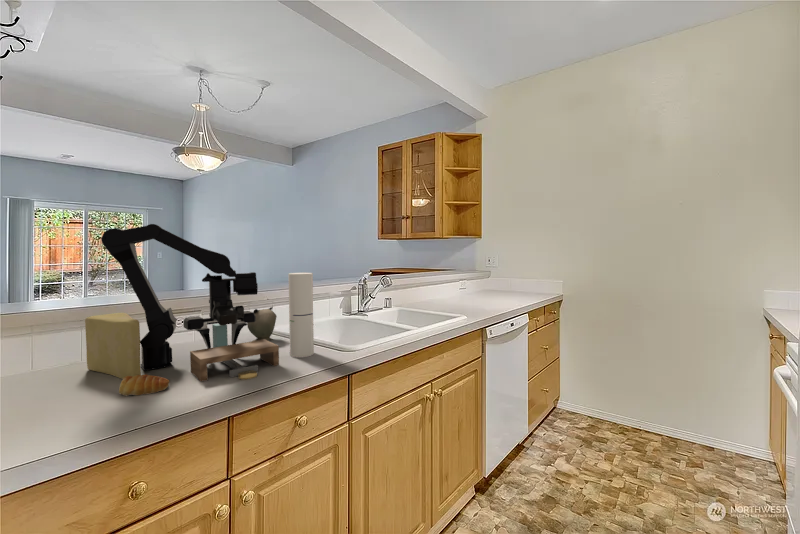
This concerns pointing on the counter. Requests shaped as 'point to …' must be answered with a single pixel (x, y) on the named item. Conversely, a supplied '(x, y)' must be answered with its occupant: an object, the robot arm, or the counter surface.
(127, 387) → the pastry
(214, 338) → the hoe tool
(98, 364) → the cheese
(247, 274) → the robot arm
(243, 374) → the brass puck
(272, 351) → the walnut shelf
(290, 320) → the cylindrical container
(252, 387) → the counter surface
